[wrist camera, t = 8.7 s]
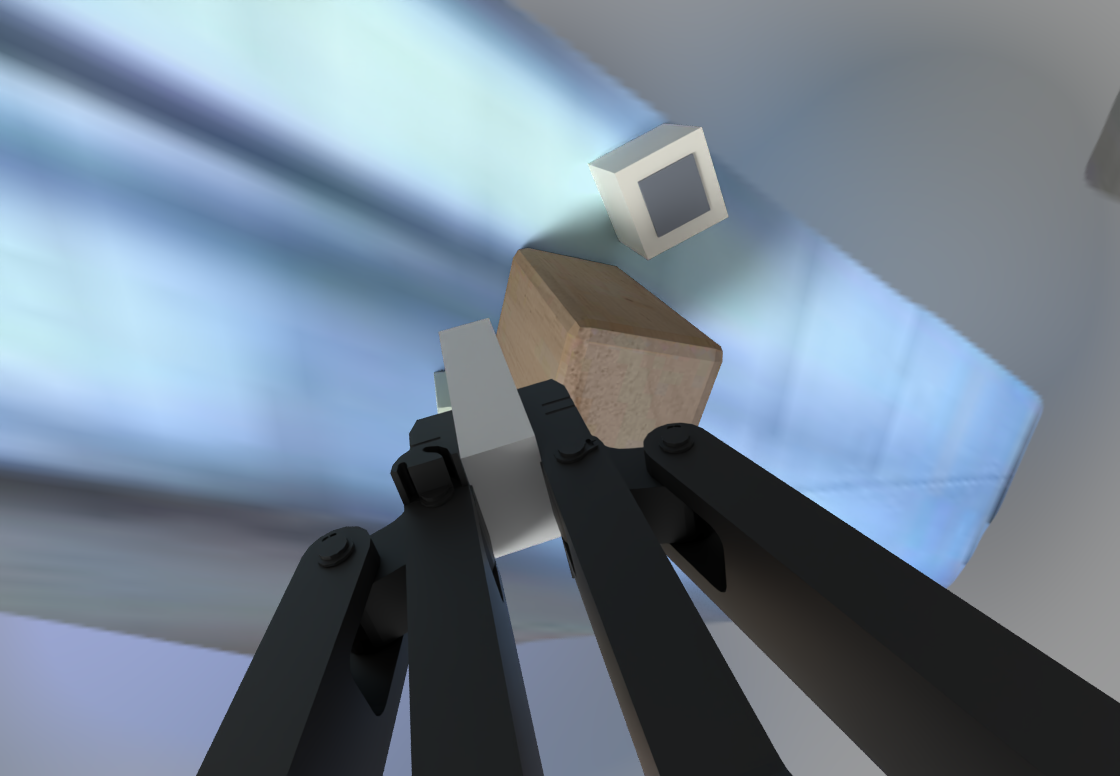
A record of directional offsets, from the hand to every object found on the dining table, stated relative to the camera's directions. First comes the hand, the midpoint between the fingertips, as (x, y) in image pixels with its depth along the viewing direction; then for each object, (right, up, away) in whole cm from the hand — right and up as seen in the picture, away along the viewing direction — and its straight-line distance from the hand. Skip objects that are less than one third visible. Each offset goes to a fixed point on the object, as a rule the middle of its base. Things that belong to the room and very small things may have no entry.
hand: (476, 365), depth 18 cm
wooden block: (+2, +6, +35) cm, 36 cm away
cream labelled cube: (+9, +16, +32) cm, 37 cm away
